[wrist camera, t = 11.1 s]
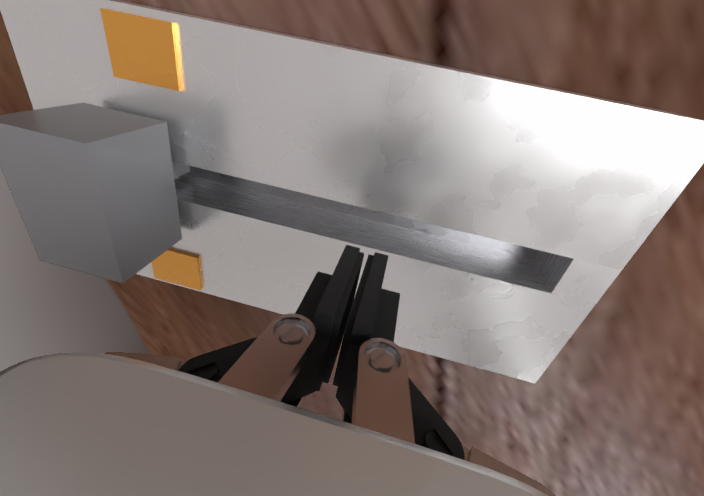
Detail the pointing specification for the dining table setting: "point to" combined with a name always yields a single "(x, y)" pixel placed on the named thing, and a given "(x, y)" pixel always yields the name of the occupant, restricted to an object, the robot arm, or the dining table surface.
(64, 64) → the console
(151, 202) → the fader
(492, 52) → the dining table surface
